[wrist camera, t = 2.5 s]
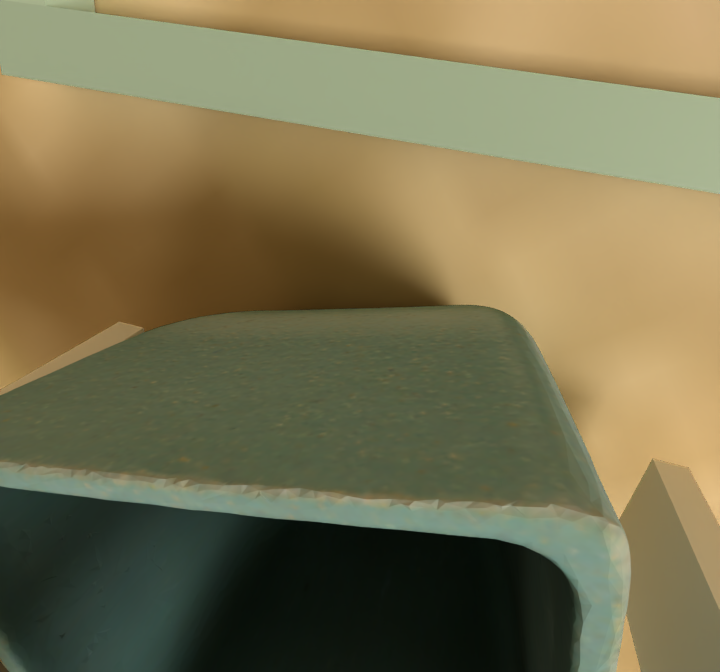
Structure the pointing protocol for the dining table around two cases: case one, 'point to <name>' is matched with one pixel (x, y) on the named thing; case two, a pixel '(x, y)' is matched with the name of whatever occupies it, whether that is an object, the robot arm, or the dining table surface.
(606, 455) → the dining table surface
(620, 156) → the bay
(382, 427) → the flower pot
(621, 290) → the dining table surface
